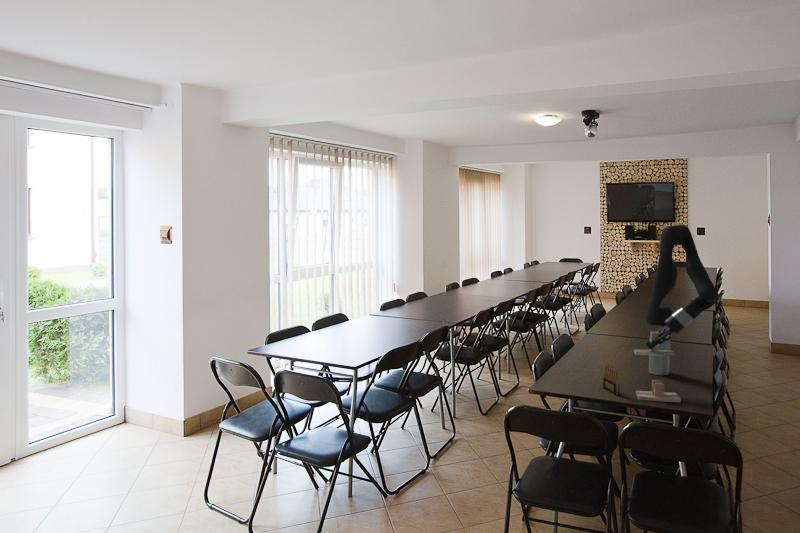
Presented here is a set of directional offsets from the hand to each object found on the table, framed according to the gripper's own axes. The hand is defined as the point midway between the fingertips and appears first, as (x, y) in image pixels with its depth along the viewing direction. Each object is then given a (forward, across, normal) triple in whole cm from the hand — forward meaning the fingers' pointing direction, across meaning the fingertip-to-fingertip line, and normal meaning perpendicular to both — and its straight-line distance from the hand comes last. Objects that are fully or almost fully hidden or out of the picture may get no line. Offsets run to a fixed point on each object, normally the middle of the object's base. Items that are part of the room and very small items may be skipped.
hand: (648, 346), depth 244 cm
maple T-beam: (+1, 0, +4) cm, 4 cm away
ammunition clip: (+25, +5, +3) cm, 26 cm away
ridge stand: (+13, +11, +15) cm, 23 cm away
